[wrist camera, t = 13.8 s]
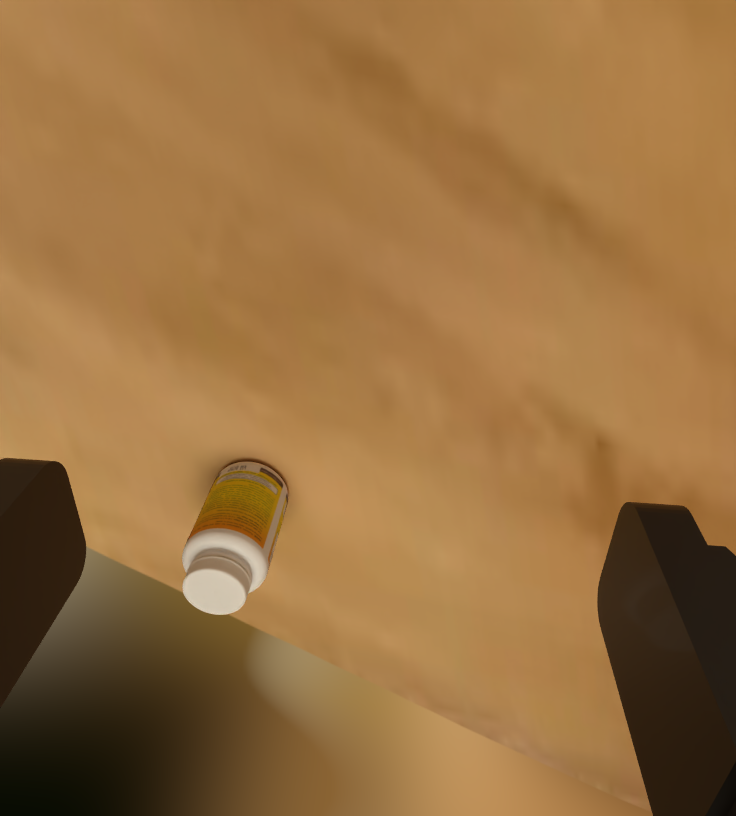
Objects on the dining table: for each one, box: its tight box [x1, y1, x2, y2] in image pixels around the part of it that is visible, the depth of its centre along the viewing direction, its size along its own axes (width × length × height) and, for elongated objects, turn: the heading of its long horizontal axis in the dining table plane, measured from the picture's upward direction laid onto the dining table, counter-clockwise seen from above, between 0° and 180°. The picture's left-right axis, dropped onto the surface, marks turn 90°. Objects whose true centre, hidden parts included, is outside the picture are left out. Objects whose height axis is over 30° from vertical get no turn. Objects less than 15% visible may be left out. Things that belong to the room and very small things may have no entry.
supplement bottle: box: [182, 462, 288, 615], centre depth 44 cm, size 6×6×10 cm
